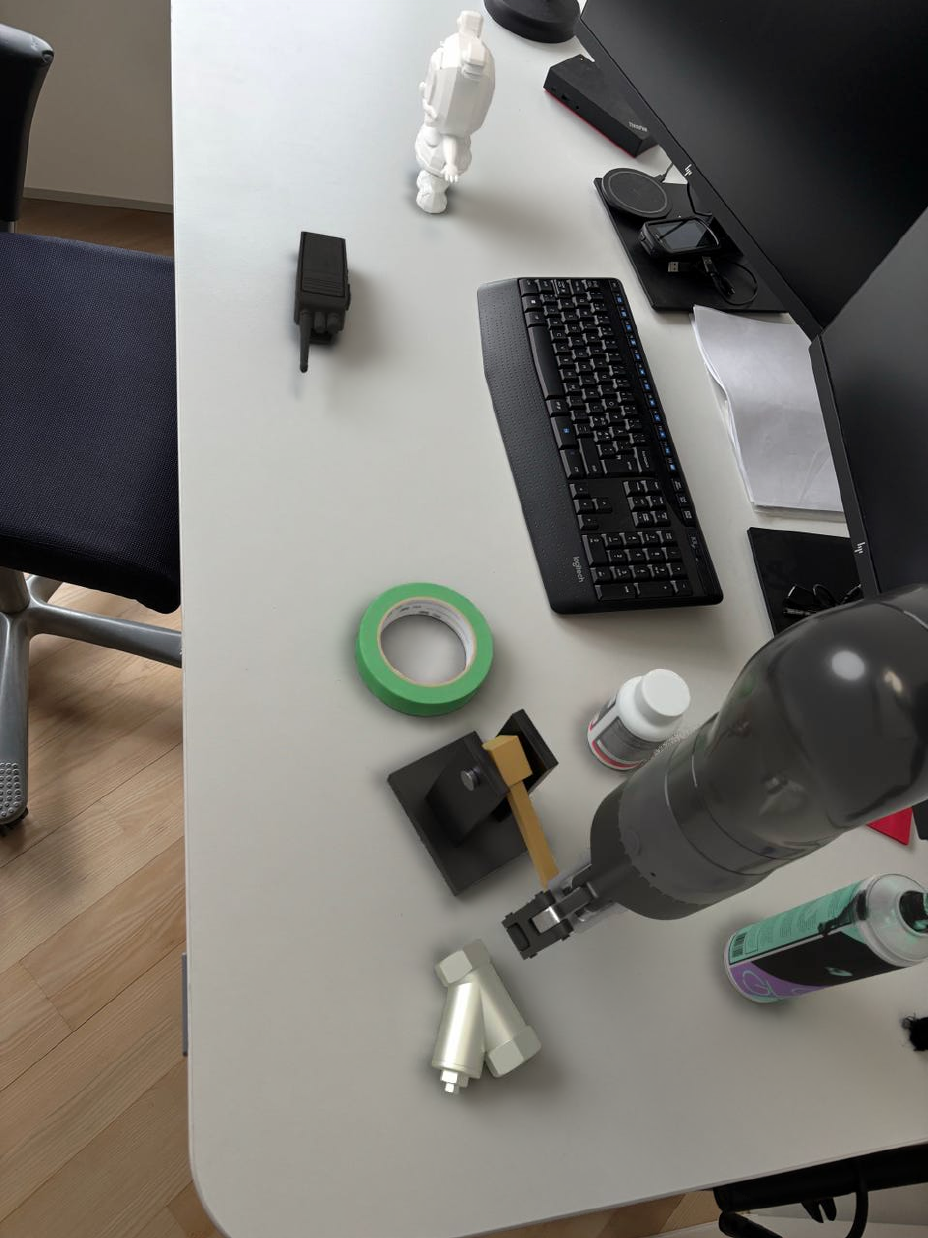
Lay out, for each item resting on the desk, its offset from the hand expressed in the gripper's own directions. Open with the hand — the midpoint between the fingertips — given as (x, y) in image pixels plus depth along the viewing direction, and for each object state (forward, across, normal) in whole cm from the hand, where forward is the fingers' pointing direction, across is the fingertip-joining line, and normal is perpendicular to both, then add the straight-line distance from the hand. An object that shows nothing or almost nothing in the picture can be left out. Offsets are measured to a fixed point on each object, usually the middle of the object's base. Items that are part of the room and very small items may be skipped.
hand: (576, 898), depth 59 cm
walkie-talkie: (+10, +14, +58) cm, 61 cm away
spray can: (+9, +14, -11) cm, 20 cm away
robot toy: (+10, +36, +74) cm, 83 cm away
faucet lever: (+2, 0, +6) cm, 6 cm away
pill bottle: (+10, +15, +9) cm, 20 cm away
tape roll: (+10, +4, +23) cm, 25 cm away
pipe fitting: (+9, -8, -3) cm, 13 cm away
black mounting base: (+9, 0, +10) cm, 14 cm away
